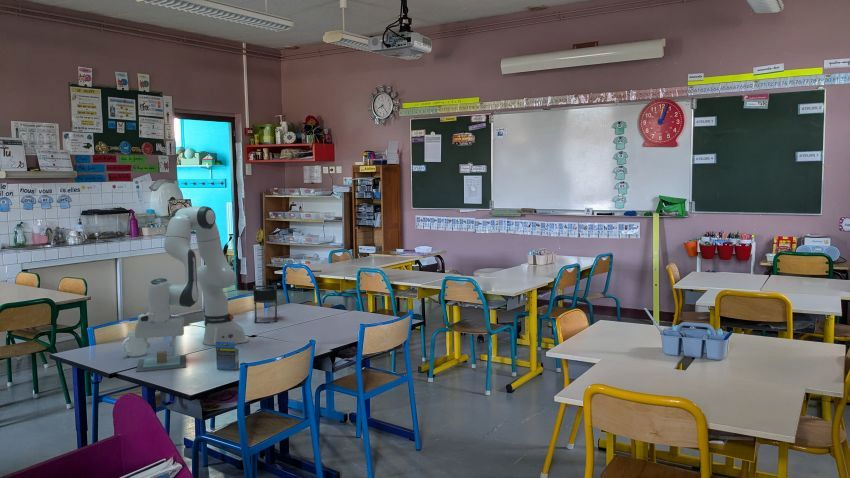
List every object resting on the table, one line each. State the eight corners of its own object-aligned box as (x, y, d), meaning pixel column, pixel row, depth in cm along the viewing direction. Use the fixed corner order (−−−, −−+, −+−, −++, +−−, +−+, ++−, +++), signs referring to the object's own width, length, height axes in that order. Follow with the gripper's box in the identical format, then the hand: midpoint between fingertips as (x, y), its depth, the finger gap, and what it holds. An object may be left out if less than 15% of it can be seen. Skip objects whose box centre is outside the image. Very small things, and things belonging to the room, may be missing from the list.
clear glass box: (254, 324, 375) (253, 285, 374) (254, 318, 392) (253, 281, 390) (277, 323, 378) (276, 285, 376) (277, 317, 395) (276, 280, 393)
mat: (186, 356, 306) (186, 355, 306) (186, 367, 287) (186, 366, 287) (139, 360, 299) (139, 359, 299) (136, 372, 280) (136, 371, 280)
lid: (180, 357, 303) (179, 346, 302) (180, 365, 289) (179, 354, 288) (144, 360, 298) (144, 349, 297) (142, 368, 284) (142, 358, 283)
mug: (128, 359, 300) (127, 337, 299) (116, 357, 304) (115, 335, 303) (150, 353, 311) (149, 332, 310) (138, 351, 315) (137, 330, 314)
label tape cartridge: (239, 368, 287) (238, 340, 286) (235, 370, 283) (234, 342, 282) (220, 367, 288) (219, 339, 287) (216, 369, 284) (215, 341, 283)
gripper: (184, 313, 298) (185, 343, 299) (135, 315, 291) (135, 346, 292) (184, 315, 292) (184, 346, 293) (134, 318, 285) (134, 349, 286)
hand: (159, 346), depth 292 cm, fingers open, 8 cm apart
